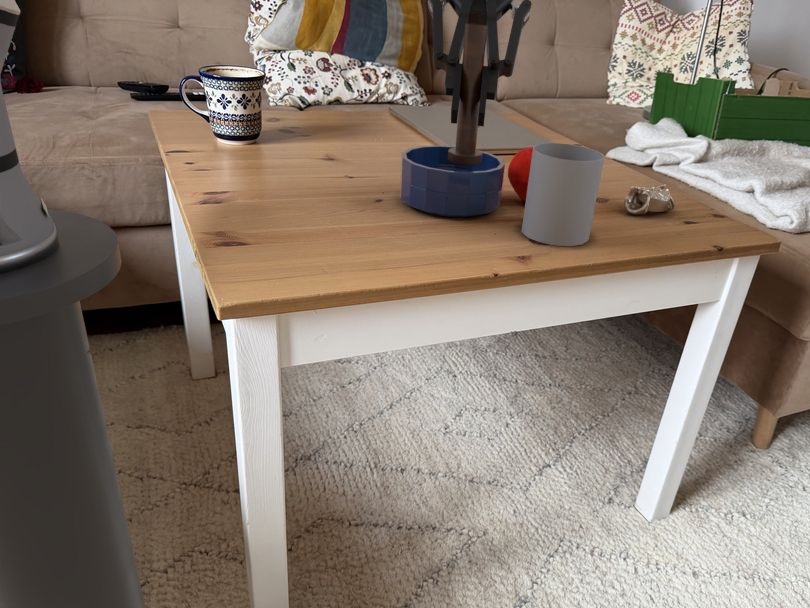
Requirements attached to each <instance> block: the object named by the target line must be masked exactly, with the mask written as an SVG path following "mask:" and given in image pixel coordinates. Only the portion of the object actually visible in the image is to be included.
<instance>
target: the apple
mask: <svg viewBox="0 0 810 608" xmlns="http://www.w3.org/2000/svg"><path fill="white" fill-rule="evenodd" d="M532 153H533V146H530V147H526V148H523V149H520V150H519V151H518V152H516V153H515V154H514V156H513V157H512V158H511V160H510V162H509V165H508V168H507V178H508V181H509V183H510V185H511V187H512V189H513V191H514V192H515V194H516V195H517V196H518V197H519V199H520V200H522V201H523V202H525V203H526V196H527V189H528V181H529V174H530V167H531V160H532Z"/></svg>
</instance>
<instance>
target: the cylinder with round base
mask: <svg viewBox="0 0 810 608" xmlns="http://www.w3.org/2000/svg"><path fill="white" fill-rule="evenodd" d="M486 36H487V25H482V24H474V23H466V24H465V36H464V47H463V51H462V61H461V64H462V77H461V89H460V101H459V110H458V119H457V124H456V125H457V126H456V139H455V147H456V148H451V149H449V150H448V160H449V161H450V162H452V163H455V164H460V165H478V164H480V163H481V162H482V152H481V151H482V150H479V149H477V141H478V132H479V131H478V130H479V129H478V128H479V126H478V115H479V105H480V95H481V84H482V74H483V66H485V57H486V56H485V55H486V47H487V46H486Z"/></svg>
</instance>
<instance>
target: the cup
mask: <svg viewBox="0 0 810 608" xmlns="http://www.w3.org/2000/svg"><path fill="white" fill-rule="evenodd" d="M532 147H533V153H532V160H531V167H530V174H529V181H528V189H527V196H526V202H525V203H524V204H525V205H524V210H523V218H522V225H521V233H522V234H523V235H524V236H525V237H527V238H528V239H530V240H532V241H534V242H538V243H540V244H541V243H542V244H546V245H551V246H555V247H556V246H557V247H576V246H581V245H584V244H585V243H587V242H589V240H590V234H591V230H592V225H593V220H594V215H595V209H596V204H597V199H598V195H599V194H598V193H599V188H600V183H601V178H602V172H603V167H604V162H605V155H604V154H603V153H602V152H600V151H599V150H596V149H593V148H589V147H586V146H582V145H577V144H570V143H559V142H544V143H543V142H542V143H538V144H535V145H533V146H532Z"/></svg>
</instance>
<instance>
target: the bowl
mask: <svg viewBox="0 0 810 608" xmlns="http://www.w3.org/2000/svg"><path fill="white" fill-rule="evenodd" d="M451 148H456V145H455V146H454V145H453V146H452V145H420V146H414V147H411V148H407V149H406V150H404V151H402V152H401V157H400V177H399V178H400V180H399V196H400V201H402V202H403V203H405V204H406V205H407V206H409V207H412V208H415V209H416V210H419V211H421V212H424V213H428V214H431V215H434V216H441V217H450V218H469V217H475V216H481V215H486V214H489V213H491V212H494V211H496V210H497V209H498V208H499V207H500V205H501V201H502V192H503V184H504V177H505V176H504V175H505V169H506V168H505V167H506V164H505V162H504V160H503V159H502V158H501V157H498V156H497V155H494V154H492V153H490V152H487V151H483V150H480V151H481V152H482V162H481V163H480V164H478V165H460V164H455V163H452V162H450V161H449V160H448V150H449V149H451Z"/></svg>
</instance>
